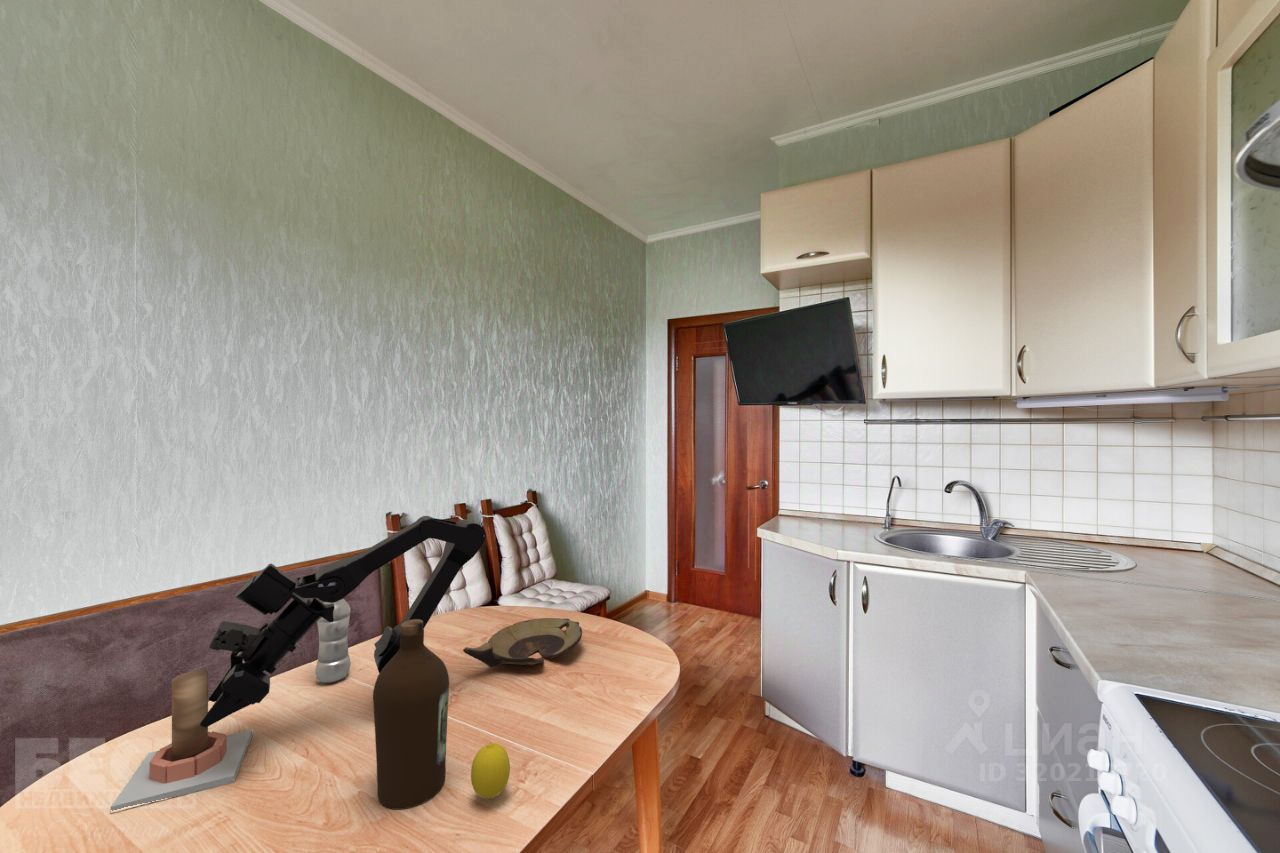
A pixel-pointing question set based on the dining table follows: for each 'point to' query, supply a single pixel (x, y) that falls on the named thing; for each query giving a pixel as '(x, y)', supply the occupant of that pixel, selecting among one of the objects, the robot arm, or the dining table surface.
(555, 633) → the oil lamp
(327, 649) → the plastic bottle
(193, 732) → the walnut peg
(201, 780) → the band dock
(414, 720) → the olive oil
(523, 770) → the dining table surface
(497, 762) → the lemon
